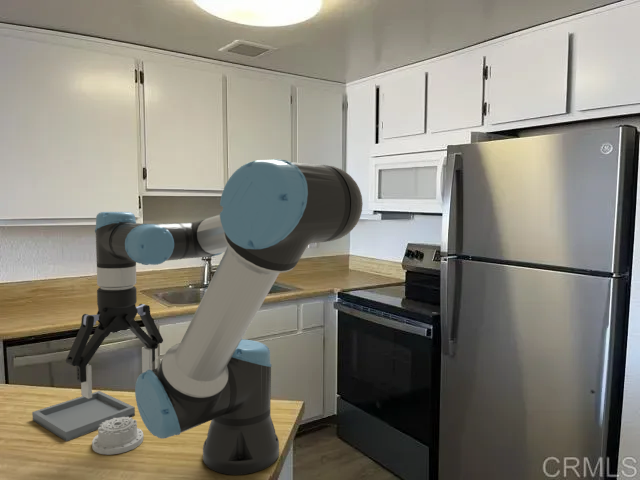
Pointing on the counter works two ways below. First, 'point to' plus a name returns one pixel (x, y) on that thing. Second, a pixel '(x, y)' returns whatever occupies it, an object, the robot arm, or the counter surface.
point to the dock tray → (81, 415)
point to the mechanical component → (117, 436)
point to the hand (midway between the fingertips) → (118, 386)
